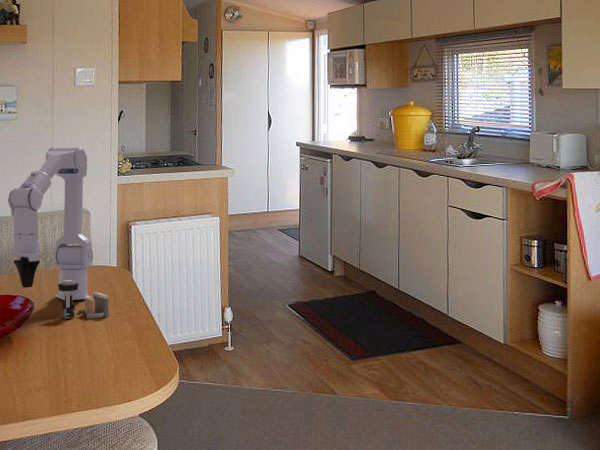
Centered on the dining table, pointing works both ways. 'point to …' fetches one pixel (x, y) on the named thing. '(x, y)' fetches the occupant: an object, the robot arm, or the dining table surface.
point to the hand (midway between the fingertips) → (27, 287)
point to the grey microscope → (68, 297)
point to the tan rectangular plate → (89, 305)
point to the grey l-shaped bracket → (98, 306)
